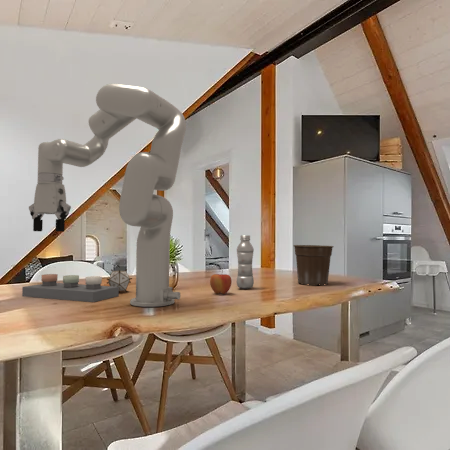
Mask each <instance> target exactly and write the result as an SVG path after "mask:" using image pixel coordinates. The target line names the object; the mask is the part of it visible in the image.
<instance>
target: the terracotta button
mask: <svg viewBox="0 0 450 450" xmlns="http://www.w3.org/2000/svg"><path fill="white" fill-rule="evenodd" d="M40 279H41V282H42V283H41V284H42V286H55V285H56V283H58V282H57V281H58V274H56V273H46V274H41V278H40Z"/></svg>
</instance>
